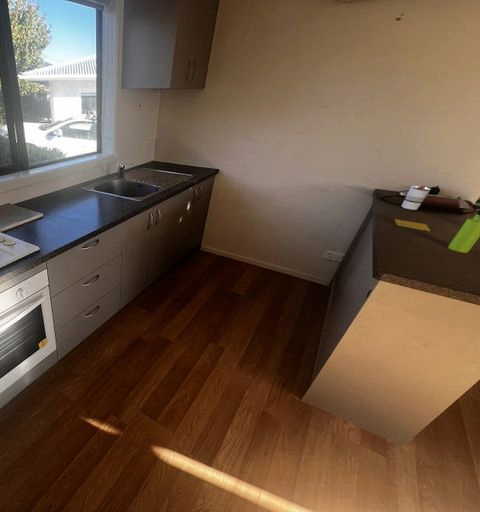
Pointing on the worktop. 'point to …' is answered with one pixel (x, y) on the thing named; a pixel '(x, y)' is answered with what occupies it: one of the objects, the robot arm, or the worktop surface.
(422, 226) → the cloth
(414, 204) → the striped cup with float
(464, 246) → the soap dispenser
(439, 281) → the worktop surface
